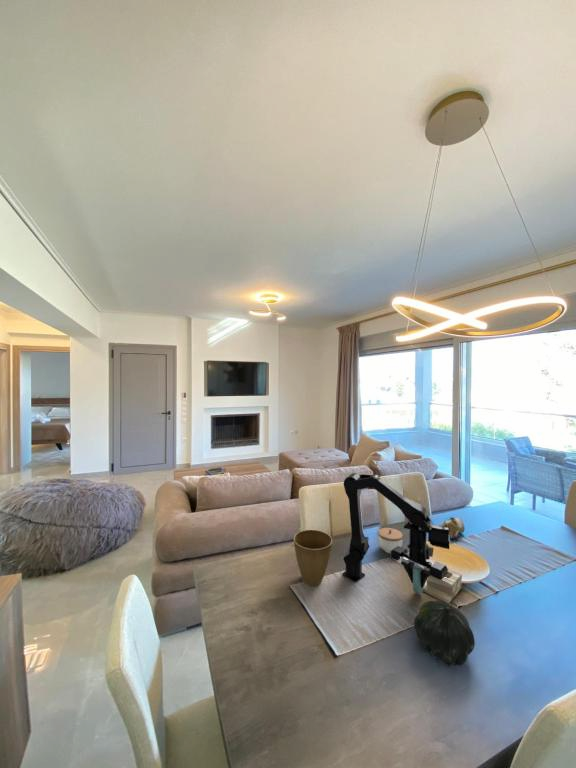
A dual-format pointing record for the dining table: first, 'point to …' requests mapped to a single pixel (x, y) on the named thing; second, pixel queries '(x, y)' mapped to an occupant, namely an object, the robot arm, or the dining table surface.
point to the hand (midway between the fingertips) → (417, 585)
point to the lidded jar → (389, 539)
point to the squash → (444, 632)
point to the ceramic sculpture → (454, 526)
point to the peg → (417, 580)
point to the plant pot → (312, 554)
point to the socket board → (438, 593)
